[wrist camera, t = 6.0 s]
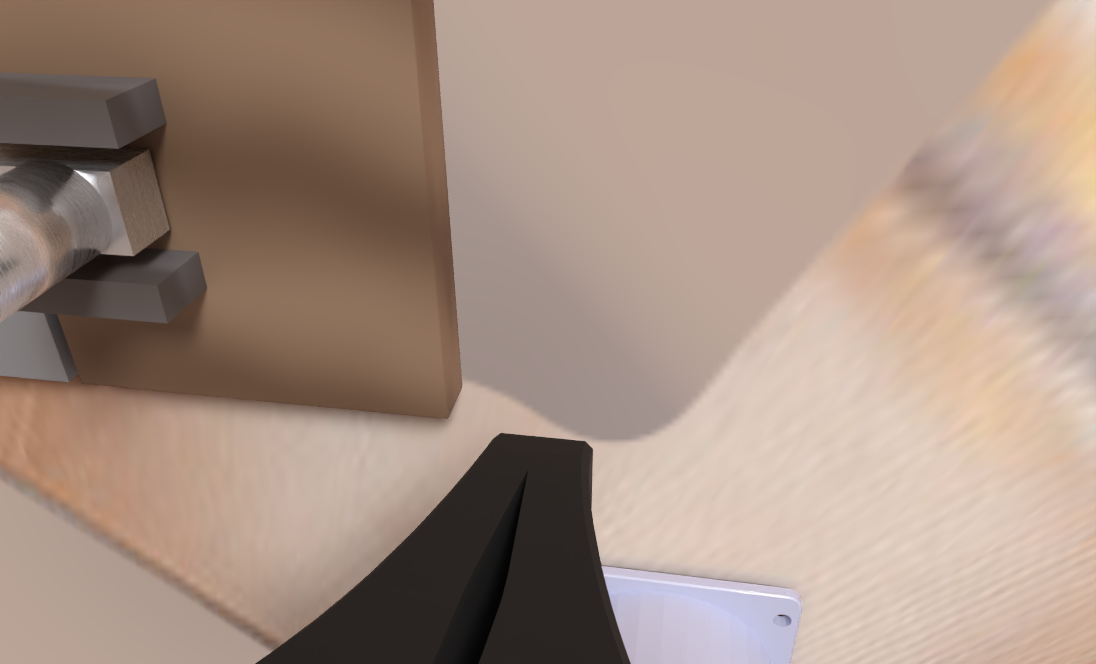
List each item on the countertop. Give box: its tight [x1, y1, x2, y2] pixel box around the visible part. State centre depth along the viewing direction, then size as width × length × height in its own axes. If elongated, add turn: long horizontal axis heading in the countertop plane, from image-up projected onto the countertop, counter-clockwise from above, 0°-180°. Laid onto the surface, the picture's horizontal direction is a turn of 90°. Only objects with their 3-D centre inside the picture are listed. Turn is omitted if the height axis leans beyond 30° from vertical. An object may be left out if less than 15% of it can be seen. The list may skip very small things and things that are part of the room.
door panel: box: [0, 0, 462, 419], centre depth 20 cm, size 12×11×3 cm
